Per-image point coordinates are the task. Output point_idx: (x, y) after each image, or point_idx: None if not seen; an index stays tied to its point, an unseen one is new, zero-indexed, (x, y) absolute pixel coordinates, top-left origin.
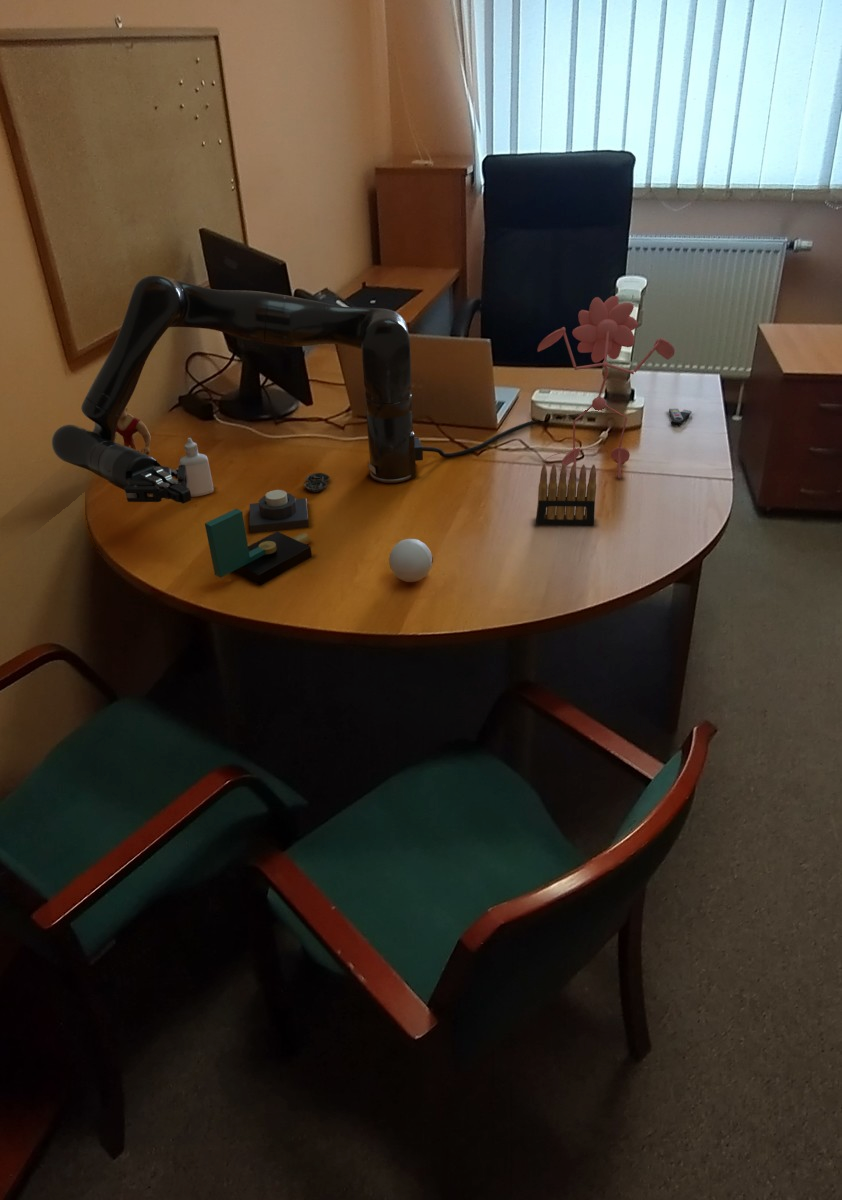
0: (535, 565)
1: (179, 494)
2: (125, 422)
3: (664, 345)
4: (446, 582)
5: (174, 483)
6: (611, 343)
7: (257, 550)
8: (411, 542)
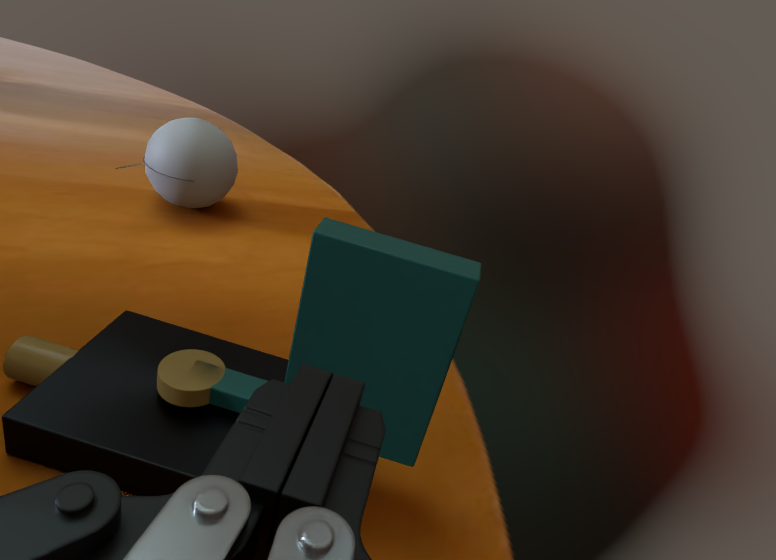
0: (105, 119)
1: (367, 408)
2: None
3: None
4: None
5: (242, 492)
6: None
7: (238, 382)
8: (198, 119)
